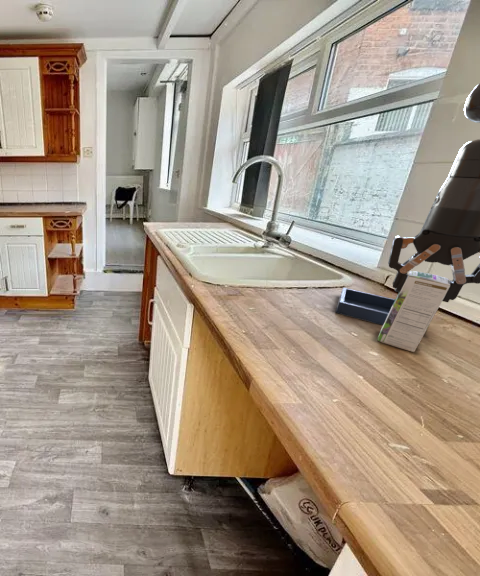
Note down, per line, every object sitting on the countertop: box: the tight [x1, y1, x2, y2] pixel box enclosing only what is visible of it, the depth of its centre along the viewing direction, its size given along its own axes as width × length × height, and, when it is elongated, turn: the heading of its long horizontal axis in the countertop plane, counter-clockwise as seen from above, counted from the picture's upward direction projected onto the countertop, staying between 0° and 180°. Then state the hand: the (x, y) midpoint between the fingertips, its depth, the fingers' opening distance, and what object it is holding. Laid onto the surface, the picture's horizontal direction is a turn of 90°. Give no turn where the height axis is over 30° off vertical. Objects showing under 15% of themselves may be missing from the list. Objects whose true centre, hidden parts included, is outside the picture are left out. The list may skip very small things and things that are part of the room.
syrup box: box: [376, 270, 450, 353], centre depth 60 cm, size 6×6×14 cm
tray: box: [335, 287, 430, 337], centre depth 75 cm, size 16×14×3 cm
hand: (419, 295), depth 59 cm, fingers closed on syrup box, 6 cm apart
